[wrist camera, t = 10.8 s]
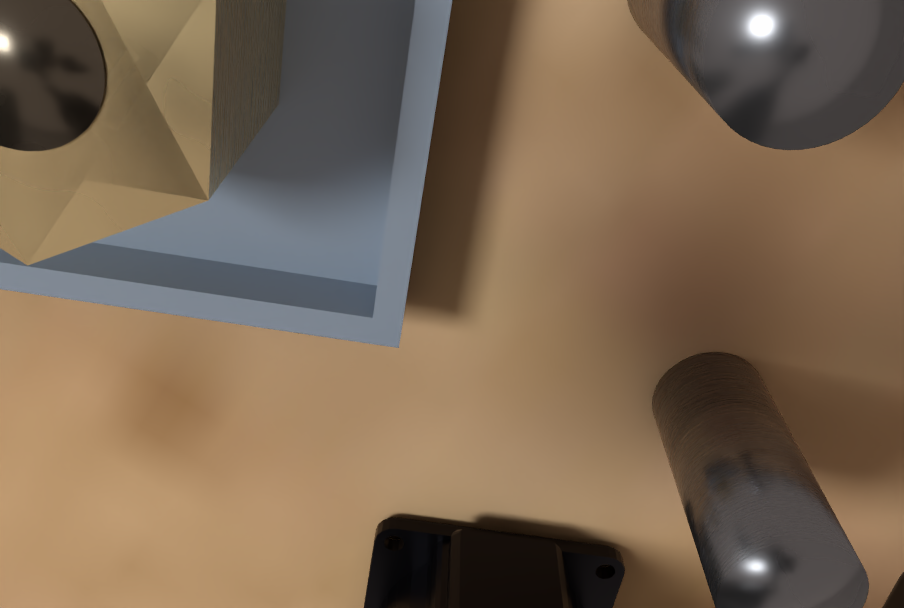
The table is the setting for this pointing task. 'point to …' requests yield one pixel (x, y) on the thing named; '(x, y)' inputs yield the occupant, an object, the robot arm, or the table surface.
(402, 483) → the table surface
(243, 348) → the table surface
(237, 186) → the tray
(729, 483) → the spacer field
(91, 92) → the brass nut
